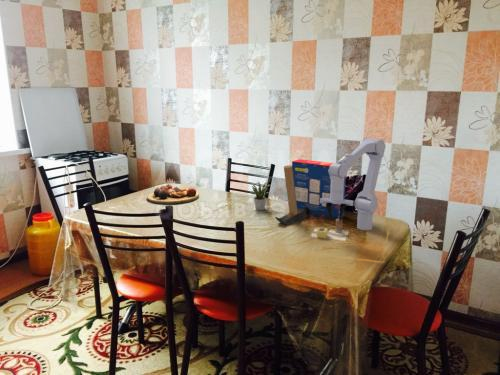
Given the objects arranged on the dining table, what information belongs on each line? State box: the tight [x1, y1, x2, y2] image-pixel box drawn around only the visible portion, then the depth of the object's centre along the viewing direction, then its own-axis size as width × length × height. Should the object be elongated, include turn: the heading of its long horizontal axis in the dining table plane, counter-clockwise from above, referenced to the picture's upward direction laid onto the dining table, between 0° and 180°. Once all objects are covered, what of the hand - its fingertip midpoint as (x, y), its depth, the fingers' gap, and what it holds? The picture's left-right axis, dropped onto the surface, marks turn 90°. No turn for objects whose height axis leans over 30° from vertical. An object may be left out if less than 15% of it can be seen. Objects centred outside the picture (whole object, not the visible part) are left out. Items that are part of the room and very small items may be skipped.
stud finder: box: [317, 227, 329, 239], centre depth 198 cm, size 5×4×3 cm
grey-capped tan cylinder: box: [335, 218, 343, 233], centre depth 203 cm, size 3×3×6 cm
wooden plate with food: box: [146, 183, 200, 205], centre depth 268 cm, size 32×32×8 cm
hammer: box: [274, 164, 311, 226], centre depth 218 cm, size 20×5×30 cm, turn 129°
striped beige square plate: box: [309, 227, 350, 242], centre depth 201 cm, size 14×16×1 cm
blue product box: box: [291, 158, 347, 220], centre depth 232 cm, size 28×8×28 cm, turn 53°
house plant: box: [250, 180, 273, 211], centre depth 243 cm, size 14×14×16 cm
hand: (335, 219), depth 194 cm, fingers open, 3 cm apart
